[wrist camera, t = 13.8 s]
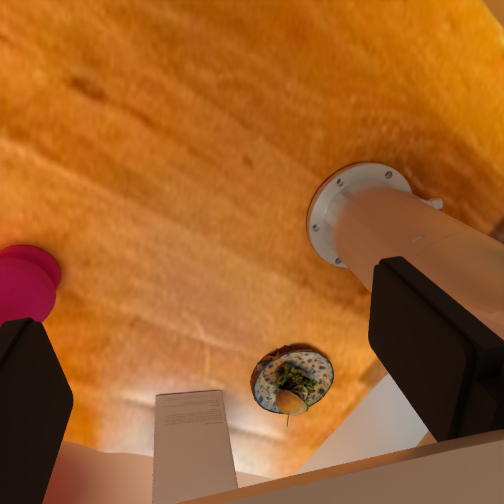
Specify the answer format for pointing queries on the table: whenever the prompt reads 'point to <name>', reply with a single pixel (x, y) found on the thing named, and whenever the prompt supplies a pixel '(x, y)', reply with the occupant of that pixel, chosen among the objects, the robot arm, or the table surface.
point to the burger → (291, 380)
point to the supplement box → (191, 448)
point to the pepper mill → (27, 283)
